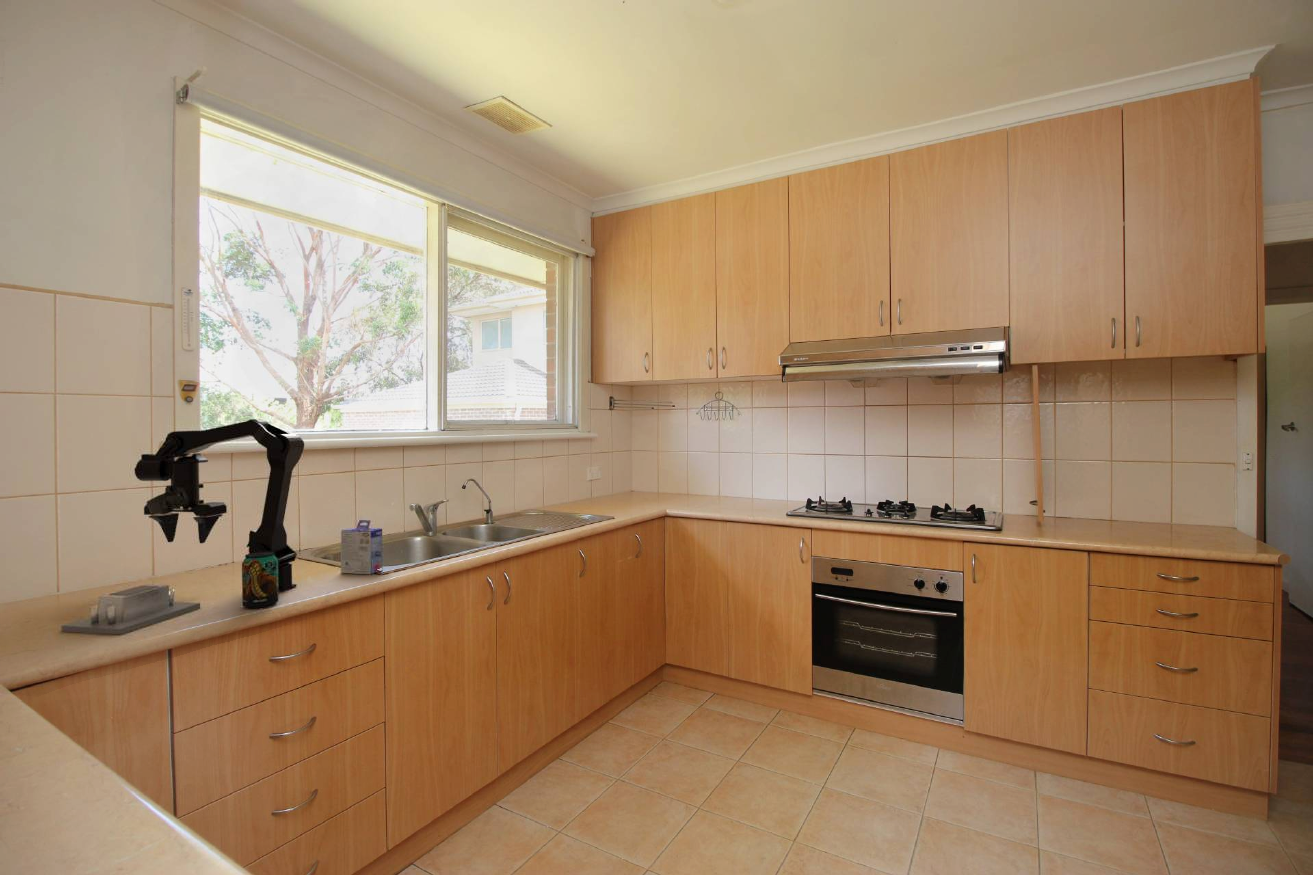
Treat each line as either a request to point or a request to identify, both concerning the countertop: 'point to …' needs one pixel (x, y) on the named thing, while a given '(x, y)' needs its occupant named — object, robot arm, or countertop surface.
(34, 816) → the countertop surface
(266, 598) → the beverage can
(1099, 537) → the countertop surface
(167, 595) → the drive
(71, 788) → the countertop surface
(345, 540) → the ink cartridge box
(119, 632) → the pin tray
